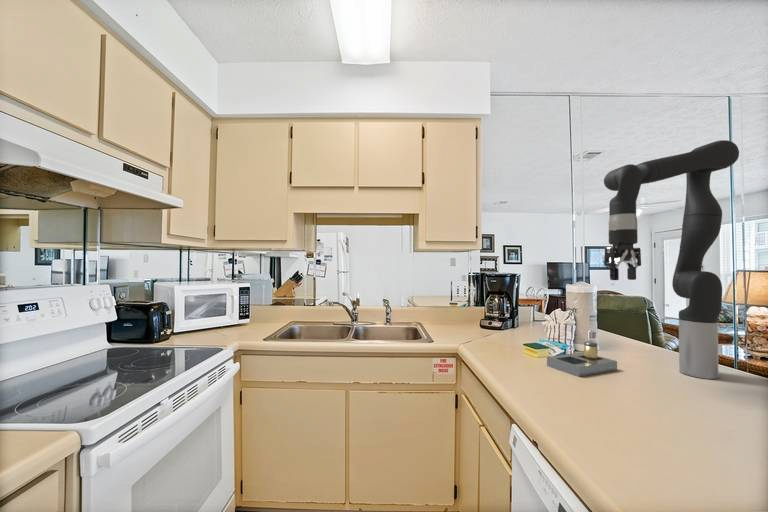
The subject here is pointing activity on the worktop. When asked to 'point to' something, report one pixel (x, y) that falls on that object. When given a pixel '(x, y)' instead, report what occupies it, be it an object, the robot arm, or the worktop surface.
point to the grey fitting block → (581, 364)
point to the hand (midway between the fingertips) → (623, 279)
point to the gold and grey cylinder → (591, 351)
